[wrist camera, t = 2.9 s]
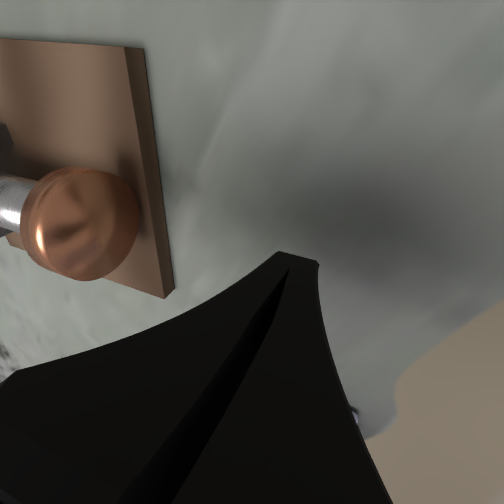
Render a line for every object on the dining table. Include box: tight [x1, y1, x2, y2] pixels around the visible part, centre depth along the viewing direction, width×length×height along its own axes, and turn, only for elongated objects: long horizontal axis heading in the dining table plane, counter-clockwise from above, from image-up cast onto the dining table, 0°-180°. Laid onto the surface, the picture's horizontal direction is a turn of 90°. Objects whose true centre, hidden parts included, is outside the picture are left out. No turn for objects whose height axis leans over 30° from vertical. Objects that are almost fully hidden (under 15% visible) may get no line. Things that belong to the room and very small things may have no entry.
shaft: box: [0, 166, 139, 281], centre depth 12 cm, size 9×4×4 cm, turn 86°
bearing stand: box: [0, 38, 174, 299], centre depth 13 cm, size 13×12×6 cm
